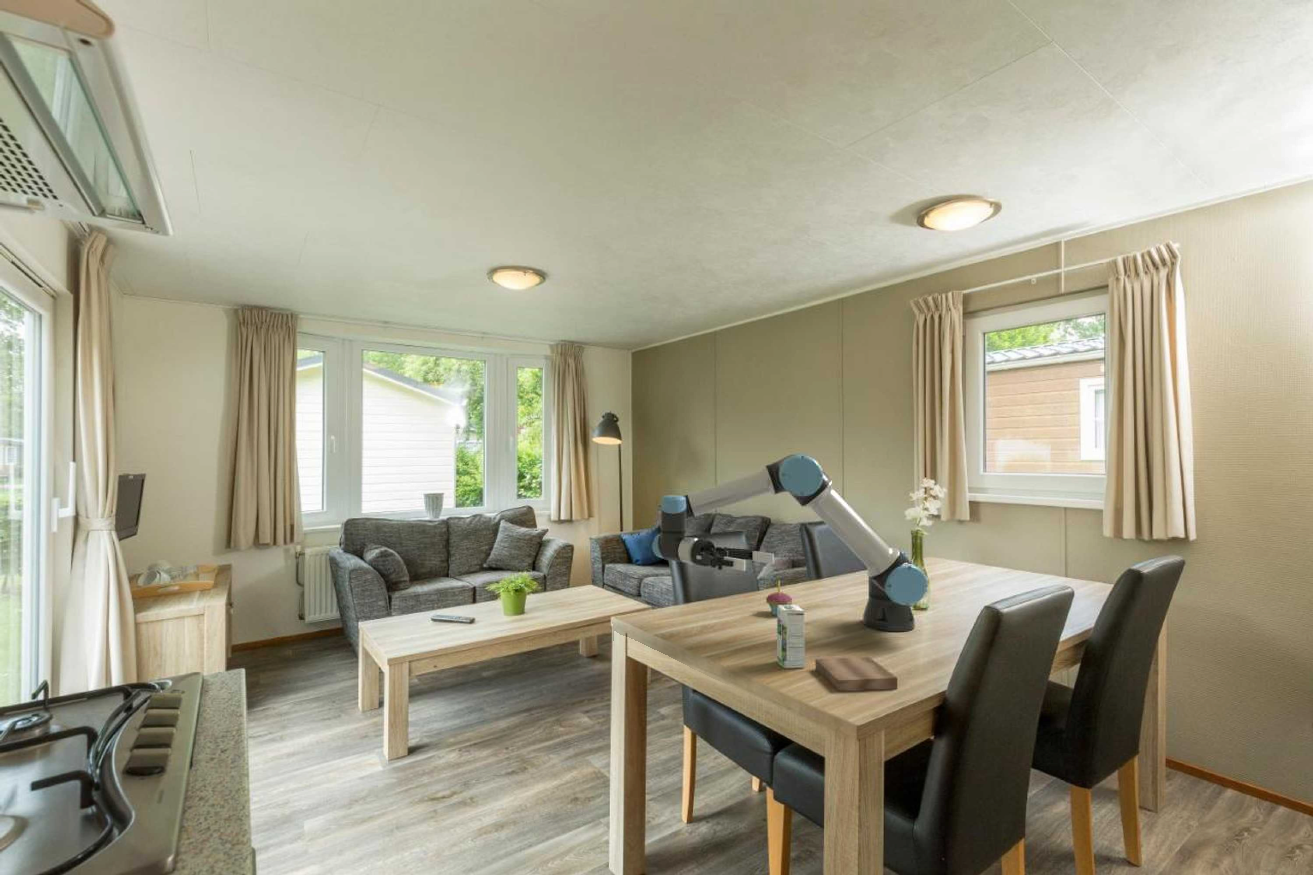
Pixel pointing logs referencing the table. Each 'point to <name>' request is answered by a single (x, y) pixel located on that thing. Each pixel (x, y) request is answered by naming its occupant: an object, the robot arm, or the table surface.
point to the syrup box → (790, 636)
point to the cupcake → (778, 600)
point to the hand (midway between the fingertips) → (759, 562)
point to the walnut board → (855, 674)
